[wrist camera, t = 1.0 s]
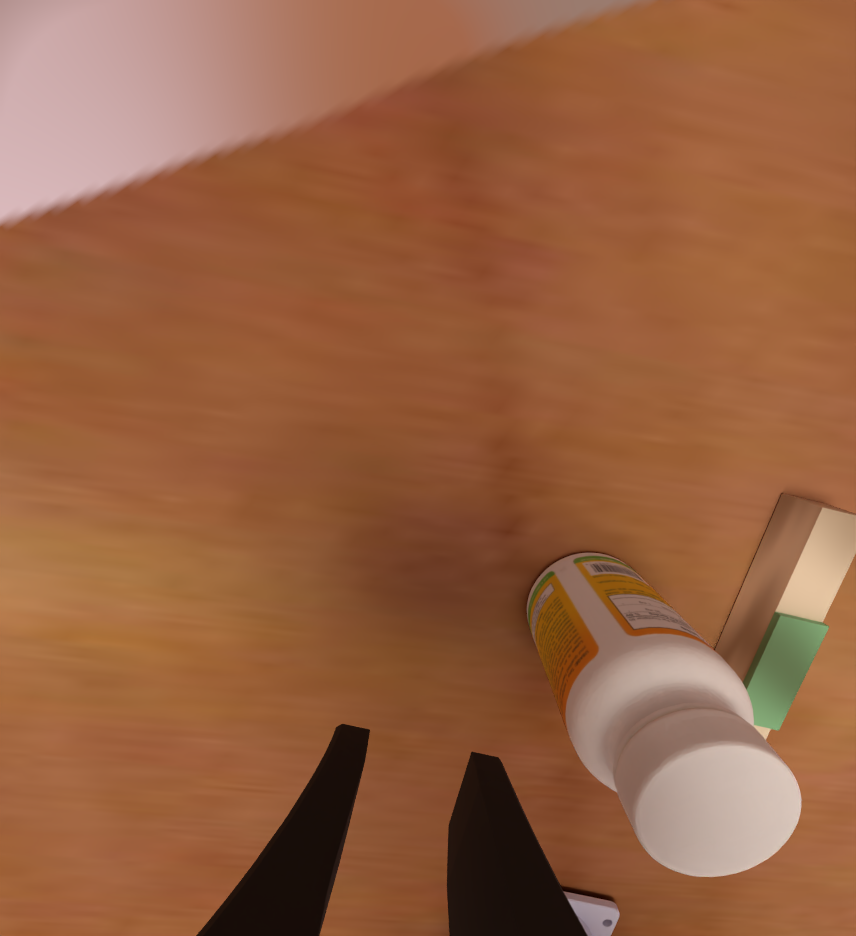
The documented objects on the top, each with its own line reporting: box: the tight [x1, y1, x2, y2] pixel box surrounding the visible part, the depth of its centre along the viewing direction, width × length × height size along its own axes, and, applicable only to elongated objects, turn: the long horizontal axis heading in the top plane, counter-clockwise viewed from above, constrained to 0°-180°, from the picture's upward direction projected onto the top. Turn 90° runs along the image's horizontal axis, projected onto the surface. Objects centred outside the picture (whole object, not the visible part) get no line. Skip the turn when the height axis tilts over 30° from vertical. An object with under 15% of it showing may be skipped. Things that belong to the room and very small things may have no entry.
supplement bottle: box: [527, 553, 801, 877], centre depth 15 cm, size 5×5×10 cm
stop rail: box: [715, 493, 856, 740], centre depth 19 cm, size 14×2×2 cm, turn 167°
